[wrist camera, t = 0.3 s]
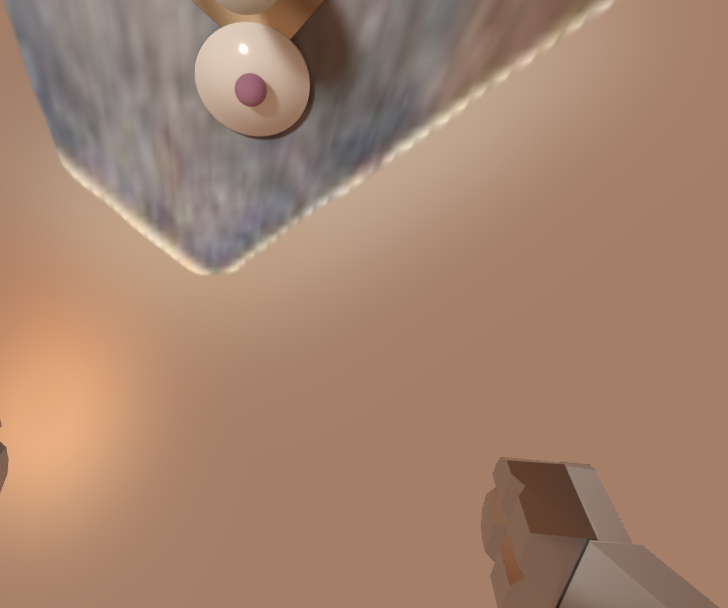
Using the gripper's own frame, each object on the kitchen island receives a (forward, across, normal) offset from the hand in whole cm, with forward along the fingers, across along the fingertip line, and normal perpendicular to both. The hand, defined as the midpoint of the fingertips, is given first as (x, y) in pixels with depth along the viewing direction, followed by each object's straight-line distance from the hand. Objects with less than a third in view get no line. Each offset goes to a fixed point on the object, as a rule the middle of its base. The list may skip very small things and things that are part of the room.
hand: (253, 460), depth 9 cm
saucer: (+52, +9, +1) cm, 53 cm away
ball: (+52, +9, +1) cm, 53 cm away
